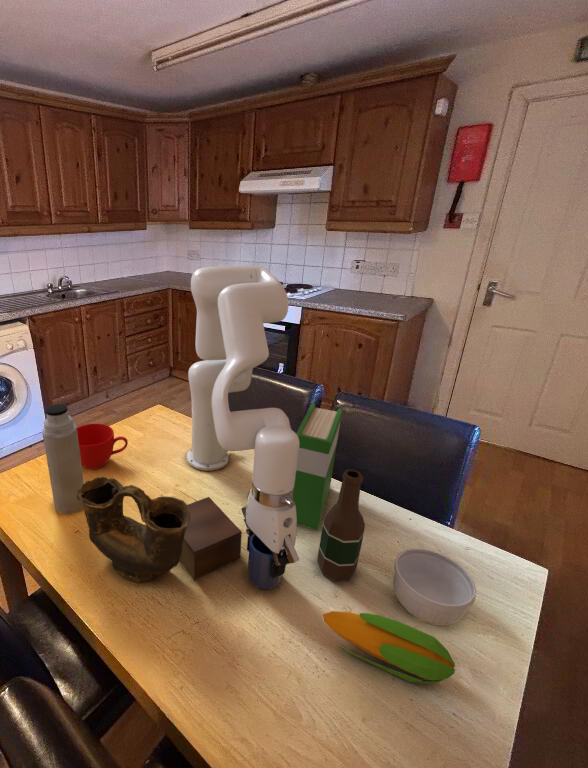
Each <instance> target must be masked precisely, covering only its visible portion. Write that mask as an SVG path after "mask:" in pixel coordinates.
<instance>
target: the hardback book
mask: <svg viewBox="0 0 588 768" xmlns="http://www.w3.org/2000/svg"><path fill="white" fill-rule="evenodd" d="M342 413H343V408H339V407H338V409H337V411H335V410H329V409H325V408H320V407H316V403H311V404H310V406H309V407H308V409H307V411H306V413H305V415H304V417H303V419H302V421H301V422H300V425H299V427H298V429H297V431H296V432H295V433H296V434H297V436H298V438H299V453H298V461H297V468H296V476H295V484H294V492H293V501H294V502H295V507H296V515H297V525H299V526H301V527H302V526H303V527H305V528H309V529H312V530H314V531H318V529H319V526H320V523H321V520H322V516H323V512H324V509H325V505H326V503H327V499H328V497H329V493H330V489H331V483H332V477H333V472H334V471H333V470H334V464H335V458H336V451H337V447H338V440H339V433H340V427H341V421H342Z"/></svg>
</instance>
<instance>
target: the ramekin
mask: <svg viewBox="0 0 588 768" xmlns="http://www.w3.org/2000/svg"><path fill="white" fill-rule="evenodd" d="M393 572H394V573H393V575H394V576H393V591H394V594H395V597H396V599H397V600H398V601H399V603H400V604H401V605H402V607H403V608H404V609H405V610H406V611H407V612H408V613H410V614H411V615H412V616H414V617H415V618H416V619H418V620H420V621H422V622H424V623H427V624H429V625H434V626H451V625H454V624H456V623H458V622H459V621H460V620H461V619H462V618H463V617H464V616H465V614H466V612H467V611H468V610H469V608H470V607H471V606H472V605H473V604H474V602H475V599H476V597H477V586H476V584H475V582H474V579H473V577H472V575H470V573H469V571H467V570H466V569H465V568H464V567H463V566H462V565H461V564H460V563H458V562H457V561H455V560H454V559H452V558H451V557H449V556H447V555H446V554H443V553H440V552H438V551H435V550H431V549H429V548H421V547H412V548H408V549H404V550H402V551H401V552H399V553H398V554H397V555H396V558H395V560H394V562H393Z"/></svg>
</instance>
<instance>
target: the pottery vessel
mask: <svg viewBox="0 0 588 768" xmlns="http://www.w3.org/2000/svg"><path fill="white" fill-rule="evenodd" d="M125 497H129V498H132V500H133V501H134V503H136V506H137V508H138V512H139V515H140V520H141V522H143V523H144V524H143V523H141V522H139V521H138V520H135V519H134V518H132V517H130V516H126V515H124V499H125ZM77 499H78V500H79V501H80V502H81V504H82V505H83V508H82V509H83V512H84V516H85V520H86V523H87V527H88V538H89V540H90V542H91V543H92V544H93V545H94V547H95V548H97V550H98V551H99V552H100V553H102V555H104V556H105V557H106V558H107V559H109V560H110V561H111V566H112V567H113V570H114V571H115V573H116V574H117V575H118V576H119V577H121V578H122V579H124V580H126V581H129V582H132V583H137V584H140V583H148V582H151V581H152V582H153V581H155V580H156V579H157V578H158V577H159V574H162V573H167V572H168V573H169V571H171V570H172V569H174V568H175V567H177V566H178V564H180V562H181V560H180V557H181V553H182V543H183V540H184V535H185V530H186V528H187V526H188V522H189V520H190V517H191V516H190V510H189V508H188V503H186V502H185V501H184V500H182V499H180V498H177V497H174V496H165V495H164V496H163V495H162V496H157V497H156V498H151V497H150V496H149V495H147V494H146V493H145V491H144V490H143V489H142V488H140V487H138V486H137V485H136V486H135V485H133V484H130V485H125V486H124V485H123V484H122V483H121V482H119V480H118V479H116V478H114V477H106V476H97V477H94V478H93V479H91V480H86V481H84V484H83V485H82V488H81V489H80V490H78V494H77Z"/></svg>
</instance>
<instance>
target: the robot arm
mask: <svg viewBox="0 0 588 768" xmlns="http://www.w3.org/2000/svg"><path fill="white" fill-rule="evenodd" d="M190 291H191V295H192V298H193V302H194V304H195V308H196V321H195V322H196V323H195V325H196V326H195V352H196V355H197V357H198V358H200V359H201V360H200V361H196V362H194V363H192V365H190V367H189V369H188V371H187V372H188V373H187V374H188V375H187V377H188V383H189V390H190V398H191V449H190V450H189V451H187V453H186V461H187V463H188V465H189V466H191V467H192V468H194V469H197V470H201V471H206V472H207V471H208V472H209V471H217V470H220V469H222V468H224V467H226V465H228V463H229V453H228V452H239V451H240V452H241V451H250V450H254V451H253V452H254V455H253V467H252V481H251V488H250V490H249V493H248V496H247V502H246V506H243V507H241V509H240V510H241V513H242V515H243V518H244V519H243V521H244V524H245V526H246V529H245V533H246V534H247V535H248V536H247V543H246V544H247V545H246V551H247V552H248V553H249V544H250V537H251V536H252V535H253V534H254V533H255V534H256V535H257V537H258V538H259V539H260V540H261V541H262V542H263V543H264V544H265V545H266V546H267V547H268V548H269V549H270V550H271V551H272V553H273V557H274V561H272V564H271V574H270V575H271V577H272V578H275V577H277V576H281V577H282V576H283V575H284V574H285V572H286V567H287V565H289V564H295V563H297V562H299V561H300V557H299V554H298V553H297V550H296V548H295V546H296V541H297V531H298V529H297V527H298V524H297V515H296V507H295V502H294V501H293V492H294V484H295V476H296V468H297V461H298V453H299V438H298V436H297V434H296V433H297V432H295V431H294V430H293V429H292V427H291V423H290V418H289V417H288V415H286V413H285V412H284V410H282V408H279V407H264V408H254V409H253V408H252V409H244V410H233V411H231V410H230V405H229V393H238V392H244V391H246V390H247V389H248V388H249V387H250V385H251V383H252V376H253V371H254V368H256V367H258V366H260V365H262V364H263V363H265V362H266V361H267V359H268V358H269V355H270V351H269V347H268V341H267V336H266V331H265V326H264V324H270V323H271V324H272V323H280V322H282V321H283V320H284V319H285V318H286V317H287V316H288V312H289V298H288V294H287V291H286V289H285V287H284V286H283V284H282V283H281V281H280V280H279V279H278V278H277V277H276V276H275V275H274V274H272V273H271V272H270V271H269V270H268V269H267V268H266V267H264V266H262V265H259V264H258V265H257V264H256V265H253V264H249V265H220V266H219V265H218V266H217V265H215V266H206V267H205V266H204V267H200V268H198V269H196V270H195V271H194V272H193V273H192V275H191V278H190ZM281 550H282V553H283V555H281V556H279V552H280V551H281Z"/></svg>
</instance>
